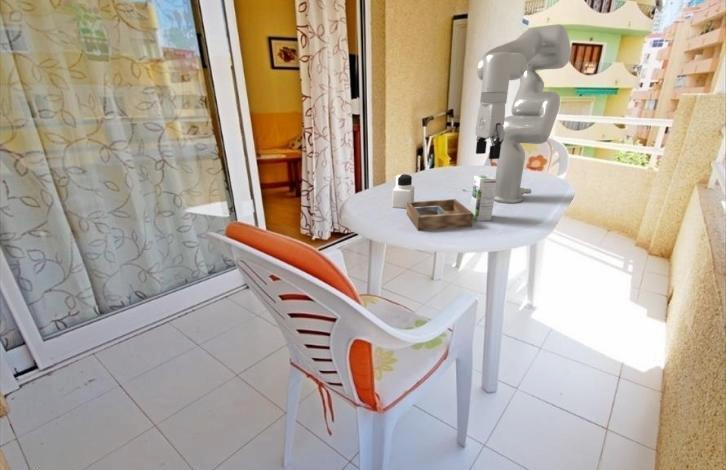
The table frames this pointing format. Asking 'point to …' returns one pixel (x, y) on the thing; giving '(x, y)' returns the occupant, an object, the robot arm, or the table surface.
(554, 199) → the table surface
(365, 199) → the table surface
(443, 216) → the walled box
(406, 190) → the medicine bottle
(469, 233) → the table surface
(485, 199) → the syrup box
